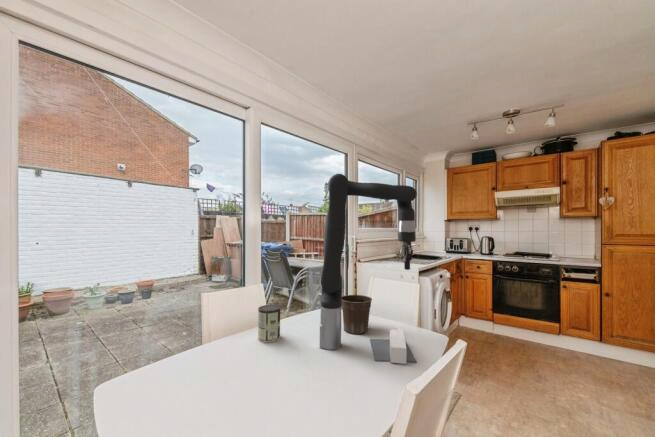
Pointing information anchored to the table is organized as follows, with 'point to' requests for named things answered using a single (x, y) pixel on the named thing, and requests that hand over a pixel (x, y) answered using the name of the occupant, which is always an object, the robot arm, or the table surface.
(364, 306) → the plant pot
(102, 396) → the table surface
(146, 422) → the table surface
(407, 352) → the mat
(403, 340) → the milk
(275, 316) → the coffee can
